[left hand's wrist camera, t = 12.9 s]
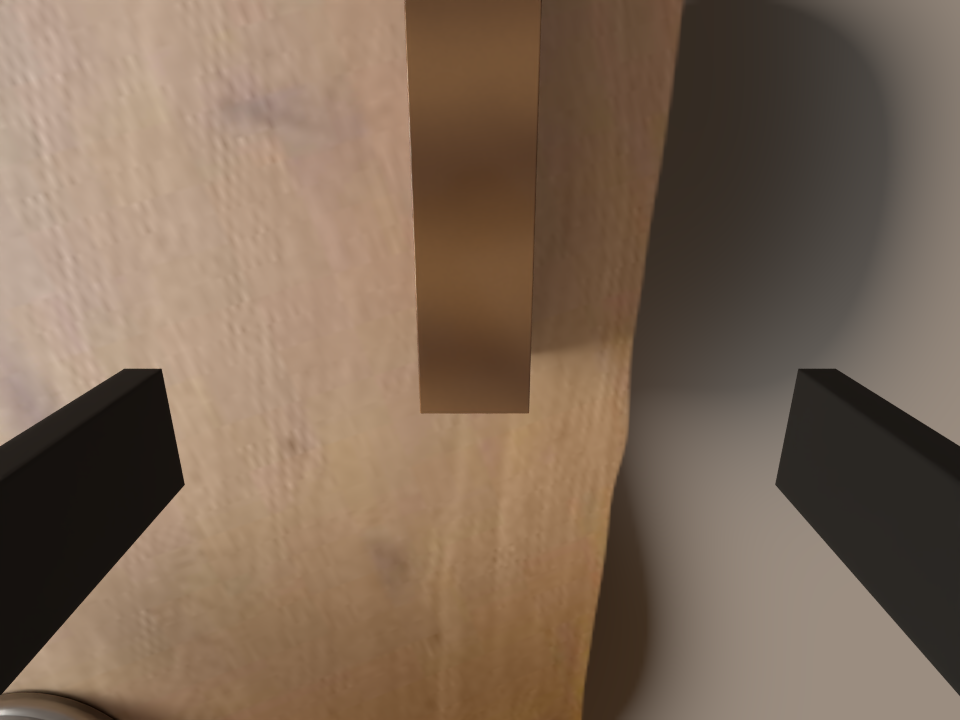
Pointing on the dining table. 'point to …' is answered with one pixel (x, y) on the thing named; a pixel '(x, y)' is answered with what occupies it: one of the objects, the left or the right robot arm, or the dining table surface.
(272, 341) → the dining table surface
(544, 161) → the dining table surface
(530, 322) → the beam
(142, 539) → the dining table surface
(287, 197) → the dining table surface
